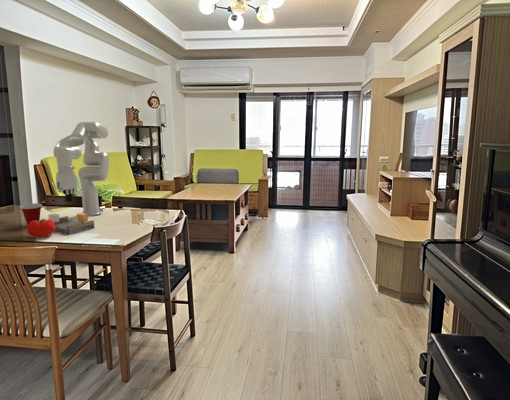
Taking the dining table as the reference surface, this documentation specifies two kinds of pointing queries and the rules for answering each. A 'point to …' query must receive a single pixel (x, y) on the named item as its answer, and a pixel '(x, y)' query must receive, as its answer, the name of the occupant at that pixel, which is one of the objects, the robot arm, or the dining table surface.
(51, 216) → the block
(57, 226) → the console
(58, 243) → the dining table surface
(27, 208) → the plastic cup
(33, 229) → the tomato
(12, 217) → the dining table surface
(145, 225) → the dining table surface
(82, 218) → the block
